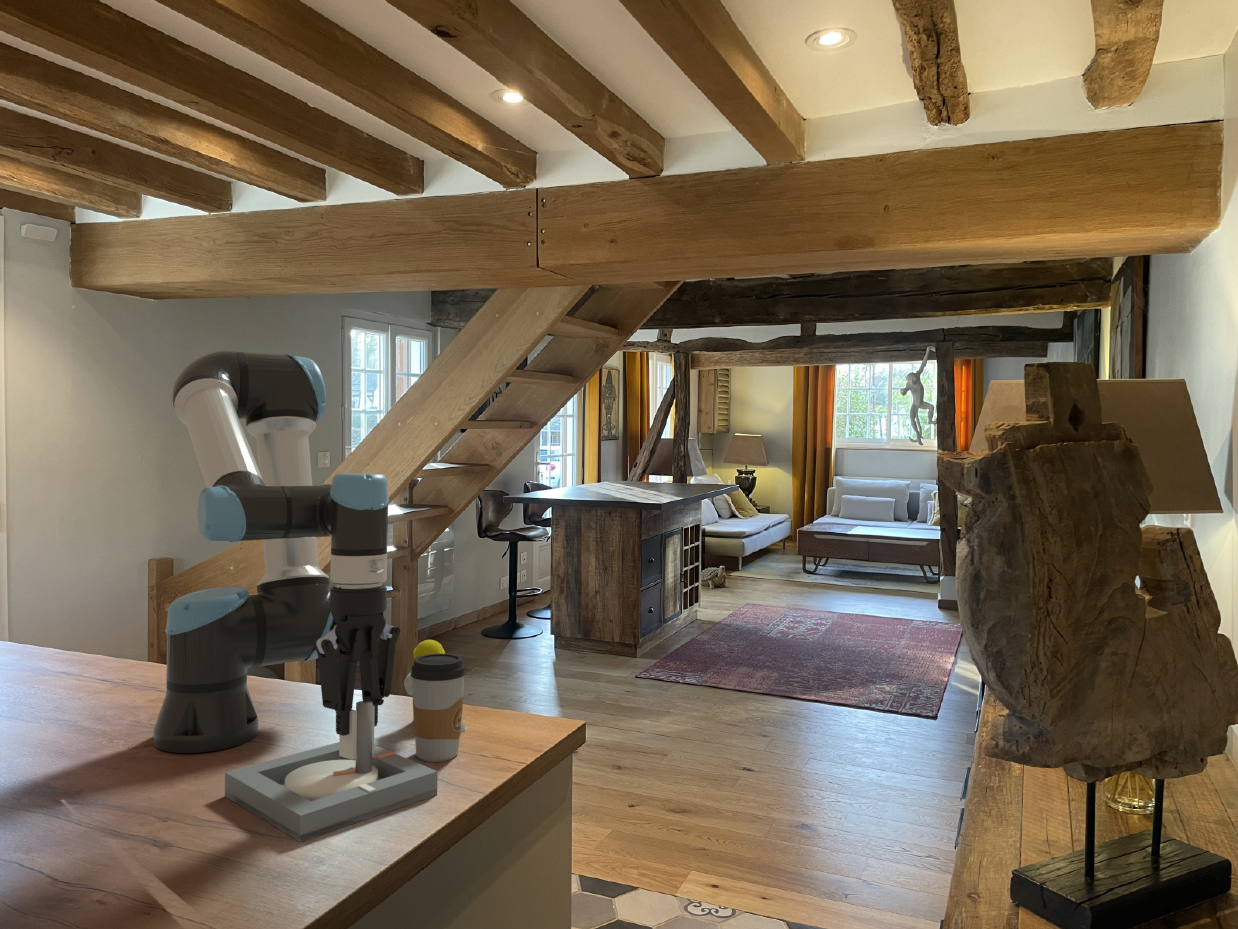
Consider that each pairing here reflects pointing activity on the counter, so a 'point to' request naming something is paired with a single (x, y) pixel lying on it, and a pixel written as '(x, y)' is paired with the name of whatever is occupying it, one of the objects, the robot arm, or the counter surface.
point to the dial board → (308, 819)
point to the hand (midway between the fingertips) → (356, 754)
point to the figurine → (420, 650)
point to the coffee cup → (437, 705)
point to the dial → (339, 765)
